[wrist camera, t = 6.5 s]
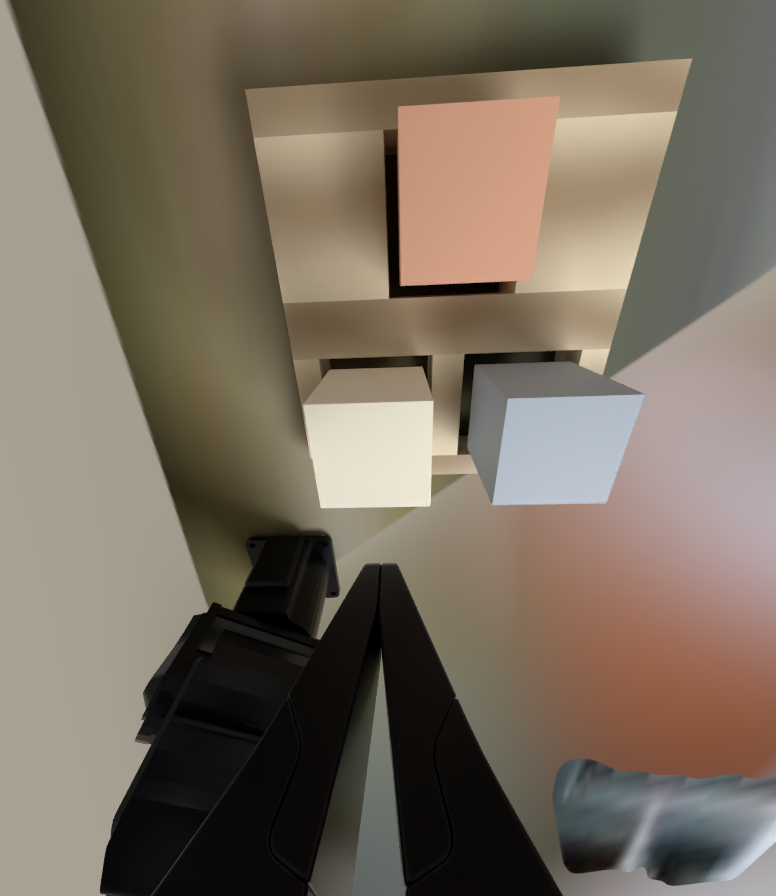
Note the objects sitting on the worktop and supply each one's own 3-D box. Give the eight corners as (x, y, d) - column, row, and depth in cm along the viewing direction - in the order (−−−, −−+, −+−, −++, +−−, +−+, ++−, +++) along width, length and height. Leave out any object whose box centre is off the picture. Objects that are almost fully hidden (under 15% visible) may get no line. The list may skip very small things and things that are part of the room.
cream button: (421, 448, 17) (430, 506, 13) (340, 450, 17) (320, 508, 13) (422, 366, 15) (433, 401, 11) (329, 369, 15) (302, 404, 11)
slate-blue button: (550, 445, 17) (605, 503, 12) (467, 447, 17) (492, 505, 13) (570, 361, 15) (645, 394, 10) (474, 364, 15) (507, 398, 10)
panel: (555, 450, 20) (575, 471, 18) (322, 456, 20) (313, 476, 18) (639, 98, 12) (692, 58, 10) (270, 122, 13) (244, 89, 11)
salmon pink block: (491, 281, 15) (531, 280, 11) (399, 285, 15) (401, 286, 11) (504, 159, 13) (560, 95, 9) (396, 165, 13) (398, 106, 9)
